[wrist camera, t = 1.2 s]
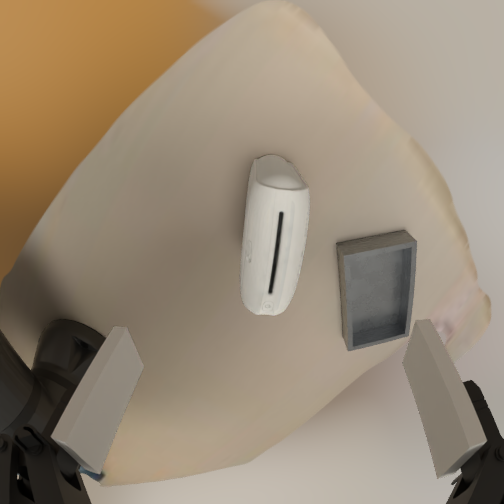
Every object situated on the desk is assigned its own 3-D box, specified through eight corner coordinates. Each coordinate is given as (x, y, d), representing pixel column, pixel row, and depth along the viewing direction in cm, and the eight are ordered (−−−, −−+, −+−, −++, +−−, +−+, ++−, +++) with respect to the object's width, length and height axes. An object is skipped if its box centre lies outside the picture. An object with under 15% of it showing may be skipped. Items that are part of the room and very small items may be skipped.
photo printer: (282, 254, 32) (295, 331, 21) (241, 250, 32) (234, 326, 21) (296, 157, 28) (324, 187, 17) (250, 151, 28) (248, 178, 16)
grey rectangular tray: (342, 335, 37) (347, 351, 34) (336, 243, 31) (343, 255, 29) (400, 321, 36) (408, 335, 34) (404, 230, 31) (416, 240, 28)
